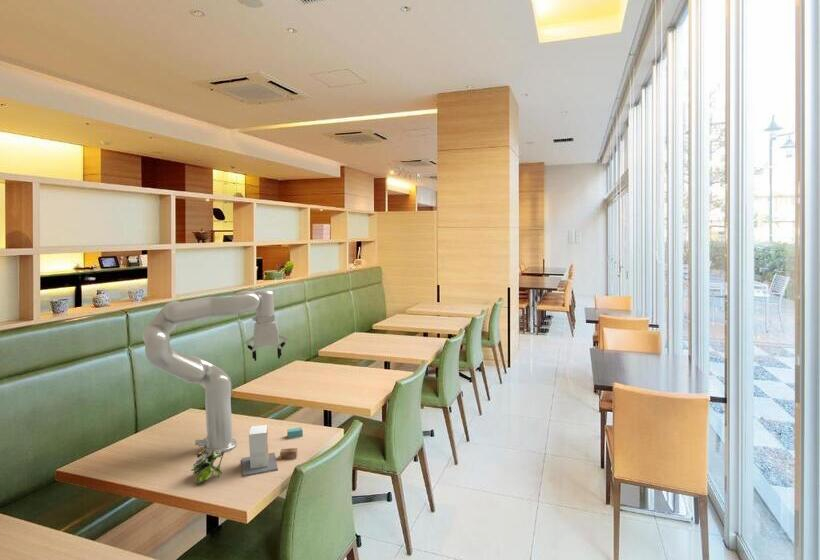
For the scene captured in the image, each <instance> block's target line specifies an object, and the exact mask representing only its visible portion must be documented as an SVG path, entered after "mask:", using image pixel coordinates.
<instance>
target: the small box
mask: <svg viewBox="0 0 820 560" xmlns="http://www.w3.org/2000/svg"><path fill="white" fill-rule="evenodd" d="M248 441H249V442H248V443H249V457H250V468H251V469H252V468H260V467H267V466H268V457H269V455H268V453H269V435H268V424H262V425H253V426H250V428H249V432H248Z"/></svg>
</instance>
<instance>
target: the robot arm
mask: <svg viewBox="0 0 820 560" xmlns="http://www.w3.org/2000/svg"><path fill="white" fill-rule="evenodd" d="M274 296H275V295H274V291H273V290H270V289H260V290H241V291H239V292H237V293H236V294H235V295H232V296H224V297H223V296H205V297H200V298H195V299H190V300H184V301H179V300H172V301H169V302H167V303H166V304H165V305H163V307H162V308H161V309H160V310H159V312H158V313H157V314H156V315H155V316H154V317H153V319H152V320H151V321H150V322H149V323H148V324H147V325H146V327H145V328H144V330H143V332H142V341H143V342H144V347H145V348H144V349H145V350H144V351H145V357H146V358H147V360H148V362H149V363H150V364H151V365H152V366H153V367H155V368H157V369H158V370H161V371H163V372H166V373H167V374H169V375H171V376H173V377H175V378H177V379H180V380H182V382H184V383H187V384H196V385H199V386H200V387H203V389H204V391H205V400H204V401H205V402H204V403H205V405H204V406H205V421H206V422H205V423H206V425H205V426H206V437H204V438H203V439H195V441H194V442H195V446H197V447H202V446H203V450H206V449H207V451H206V452H205V453H206V454H207V453H209V452H211V451H212V450H215V451H216V454H218V453H219V452H220V451H222V450H223V452H224V453H226V452H229V451H231V450H233V449H234V448H236V446H237V445H238V443H237V442H238V441H237V440H236V439H235V438H233V420H232V419H233V418H232V405H231V404H232V403H231V401H232V400H231V398H232V397H231V395H232V381H231V378H230V376H229V375H228V374H227V372H225V371H224V370H223V369H221V368H220V367H219V366H217V365H214V364H212V363H210V361H209V362H208V361H206V360H204V359H202V358H200V357H198V356H196V355H193V354H190V355H189V354H186V355H185V354H183V353H181V352H180V351H178V350H175V349H173V348H172V346H171V343H170V342H171V336H170V334H171V333H172V332H173V331H174V329H175V328H176V327H177V325H179V326H180V325H185V324H189V323H194V322H199V321H203V320H208V319H212V318H213V319H215V318H222V317H228V316H234V315H241V314H247V313H251V312H254V311H255V316H254V317H252V319H251V320H252V321H254V322H255V323H254V326H253V336H252V337H250V338H248V339H246V340H245V341H244V343H245V346H246V347H247V349H249V350H250V351H251V355H252V356H251V357H252V359H253V360H254V362H255V361H257V351H256V350H257V349H258V348H265V347H275V346H276V347H277V358H278V359H280V358H281V356H282V349H283V348H284V346H285V345H286V343H287V341H288V338H287V336H285V335H281V334H280V333H279V327H278V322H277V321H276V319H275V318H276V317H275V316H276V315H275V298H274ZM280 339H281V340H282V342H281V343H280ZM251 342H253V346H252V345H251V344H250V343H251ZM221 453H222V452H221Z"/></svg>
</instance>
